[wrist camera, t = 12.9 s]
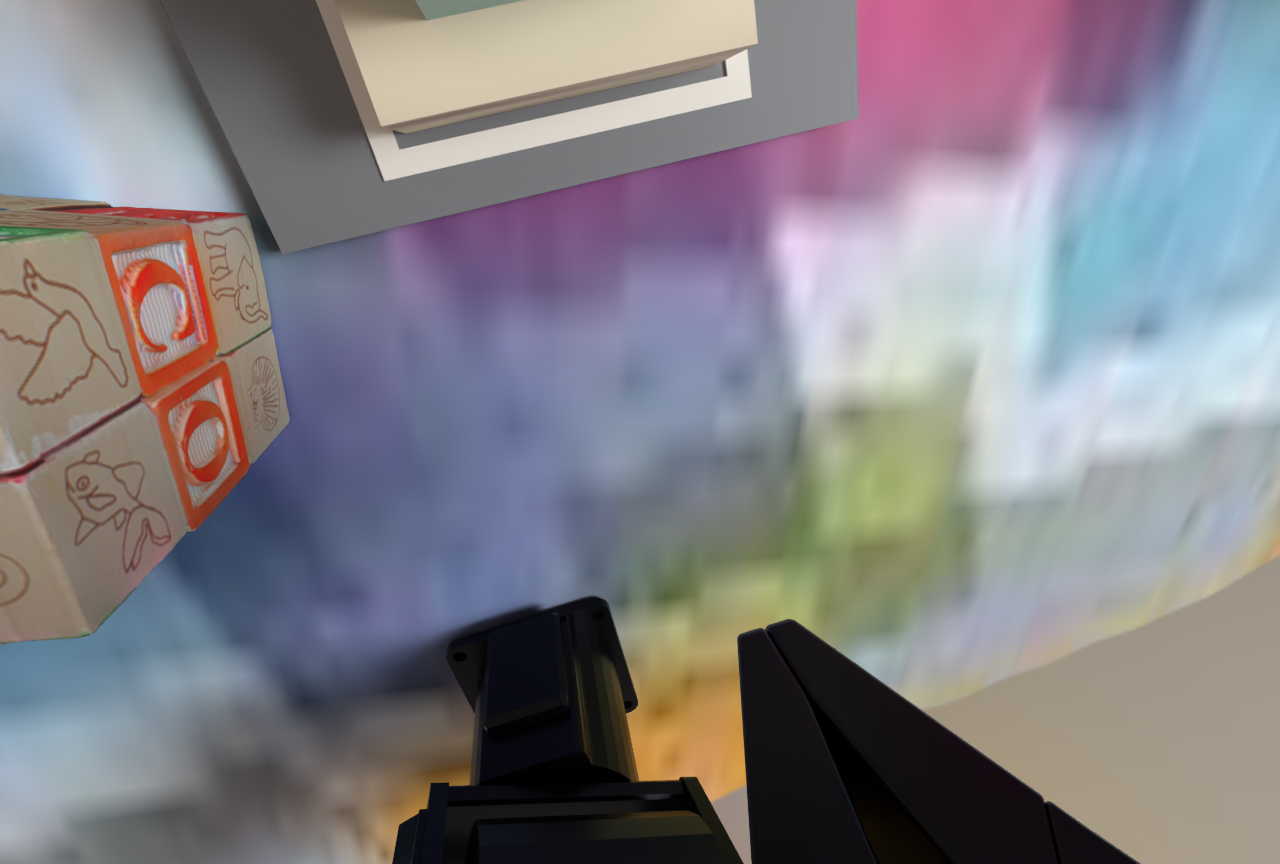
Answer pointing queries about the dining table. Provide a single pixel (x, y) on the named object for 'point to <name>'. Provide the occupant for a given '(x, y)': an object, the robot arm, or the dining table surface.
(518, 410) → the dining table surface
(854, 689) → the robot arm
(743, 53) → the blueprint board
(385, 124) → the maple slab
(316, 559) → the dining table surface
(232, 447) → the stack of blocks
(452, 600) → the dining table surface
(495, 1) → the teal cube
